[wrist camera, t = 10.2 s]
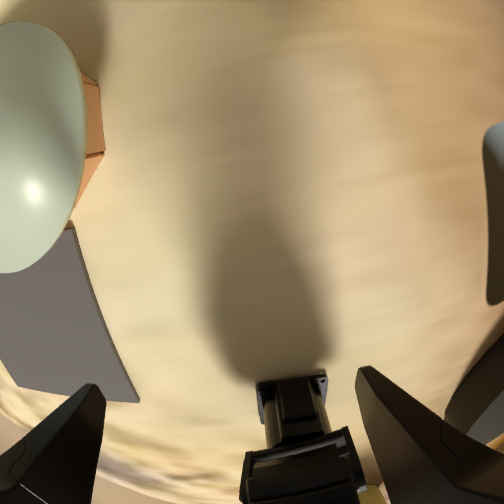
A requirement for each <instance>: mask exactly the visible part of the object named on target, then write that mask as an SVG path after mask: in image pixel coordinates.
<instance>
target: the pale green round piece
mask: <svg viewBox="0 0 504 504" xmlns="http://www.w3.org/2000/svg"><path fill="white" fill-rule="evenodd" d="M87 131H88V123H87V104H86V97H85V89H84V85H83V81H82V77H81V73H80V70H79V67H78V65H77V62H76V60H75V57H74V55H73V54H72V52H71V50H70V49H69V47H68V45H67V44H66V43H65V42H64V41H63V39H62V38H61V37H60V36H59V35H58V34H56V33H55V32H54V31H52V30H51V29H49V28H47V27H44V26H42V25H39V24H37V23H34V22H28V21H16V22H11V23H7V24H4V25H1V26H0V273H13V272H17V271H21V270H23V269H25V268H27V267H29V266H31V265H32V264H33V263H35V262H36V261H38V260H39V259H40V258H41V257H43V256H44V255H45V254H46V253H47V252H48V251H49V250H50V249H51V248H52V247H53V245H54V244H55V242H56V241H57V240H58V238H59V237H60V236H61V234H62V232H63V230H64V228H65V226H66V225H67V223H68V221H69V218H70V216H71V213H72V211H73V209H74V206H75V203H76V200H77V196H78V193H79V190H80V186H81V181H82V176H83V172H84V166H85V157H86V150H87Z"/></svg>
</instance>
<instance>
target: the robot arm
mask: <svg viewBox="0 0 504 504" xmlns="http://www.w3.org/2000/svg"><path fill="white" fill-rule="evenodd" d="M327 386H328V377H327V375H325V374H323V375H316V376H310V377H303V378H296V379H288V380H280V381H271V382H262V383H258V384H257V386H256V389H257V397H258V405H259V413H260V421H261V424H265V433H266V443H267V449H264V450H259V451H254V452H253V451H248V452H246V454H245V460H244V462H243V469H242V476H241V483H240V490H239V493H240V494H239V500H240V501H241V502H242V503H243V504H360V500H359V496H358V494H359V493H363V492H366V491H367V486H366V481H365V477H364V474H363V470H362V467H361V463H360V460H359V457H358V454H357V451H356V449H355V446H354V443H353V440H352V437H351V435H350V432H349V429H348V426H345V427H342V428H341V429H339V430H336V431H333V432H332V430H331V427H330V423H329V419H328V416H327V412H326V409H325V401H326V394H327ZM262 387H263V388H262ZM355 391H356V395H357V399H358V403H359V407H360V411H361V416H362V420H363V424H364V427H365V430H366V433H367V436H368V439H369V441H370V444H371V447H372V450H373V452H374V455H375V458H376V461H377V464H378V467H379V469H380V472H381V475H382V478H383V481H384V484H385V487H386V490H387V493H388V496H389V499H390V502H391V504H504V454H503V453H500V452H497V451H495V450H493V449H491V448H490V447H488V446H486V445H484V444H482V443H480V442H478V441H476V440H475V439H473V438H471V437H469V436H468V435H466V434H464V433H462V432H461V431H459V430H458V429H456V428H455V427H453V426H452V425H450V424H449V423H448V422H446V421H445V420H442V418H441V417H439V416H438V415H437V414H435V413H434V412H432V411H431V410H430V409H428V408H427V407H426V406H424V405H423V404H422V403H420V402H419V401H418V400H416V399H415V398H413V397H412V396H411V395H409V394H408V393H407V392H405V391H404V390H403V389H401V388H400V387H399V386H397V385H396V384H395V383H393V382H392V381H391V380H389V379H388V378H387V377H385V376H384V375H383V374H381V373H380V372H379V371H377V370H376V369H375V368H373V367H372V366H364V367H360V368H359V369H358V371H357V376H356V381H355ZM105 411H106V399H105V397H104V395H103V393H102V392H101V390H100V388H99V387H98V385H97V384H93V383H86V384H85V385H83V386H82V387H81V388H80V389H79V390H78V391H76V392H75V393H74V394H73V395H72V396H71V397H69V398H68V399H67V400H66V401H65V402H64V403H62V404H61V405H60V406H59V407H58V408H57V409H55V410H54V411H53V412H52V413H51V414H50V415H48V416H47V417H46V418H45V419H44V420H43V421H42V422H40V423H39V424H38V425H37V426H36V427H35V428H33V429H32V430H31V431H30V432H29V433H28V434H26V436H24V437H23V438H22V439H21V440H20V441H18V442H17V443H16V444H15V445H14V446H12V447H11V448H10V449H8V450H7V451H6V452H4V453H3V454H2V455H0V504H91V499H92V492H93V486H94V480H95V474H96V469H97V463H98V458H99V453H100V448H101V443H102V437H103V429H104V419H105Z"/></svg>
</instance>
